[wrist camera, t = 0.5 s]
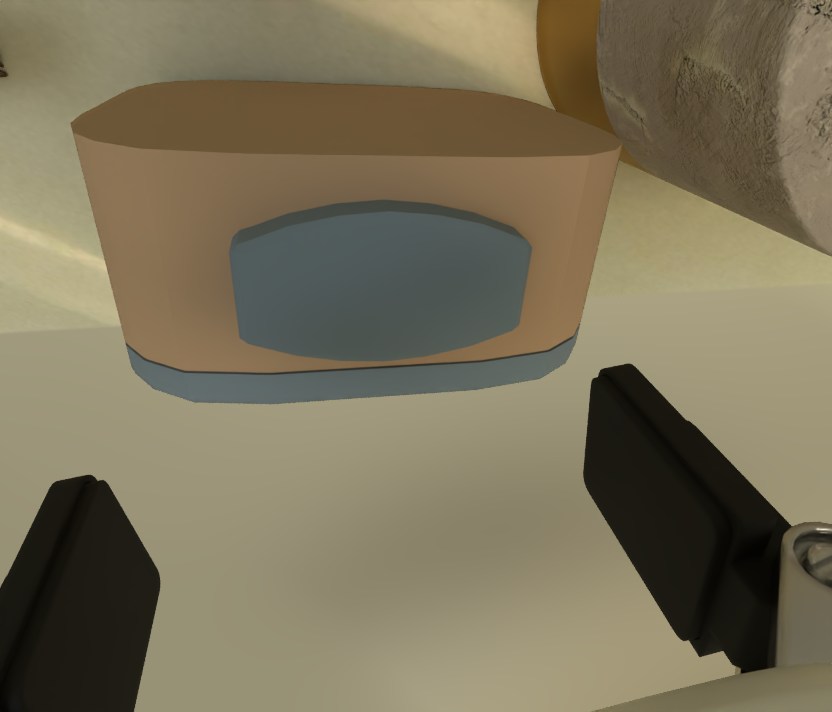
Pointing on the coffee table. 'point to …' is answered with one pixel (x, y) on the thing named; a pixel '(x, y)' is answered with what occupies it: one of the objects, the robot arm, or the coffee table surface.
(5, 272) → the coffee table surface
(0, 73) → the brown dinosaur figurine
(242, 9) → the coffee table surface
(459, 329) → the alarm clock
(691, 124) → the vase
